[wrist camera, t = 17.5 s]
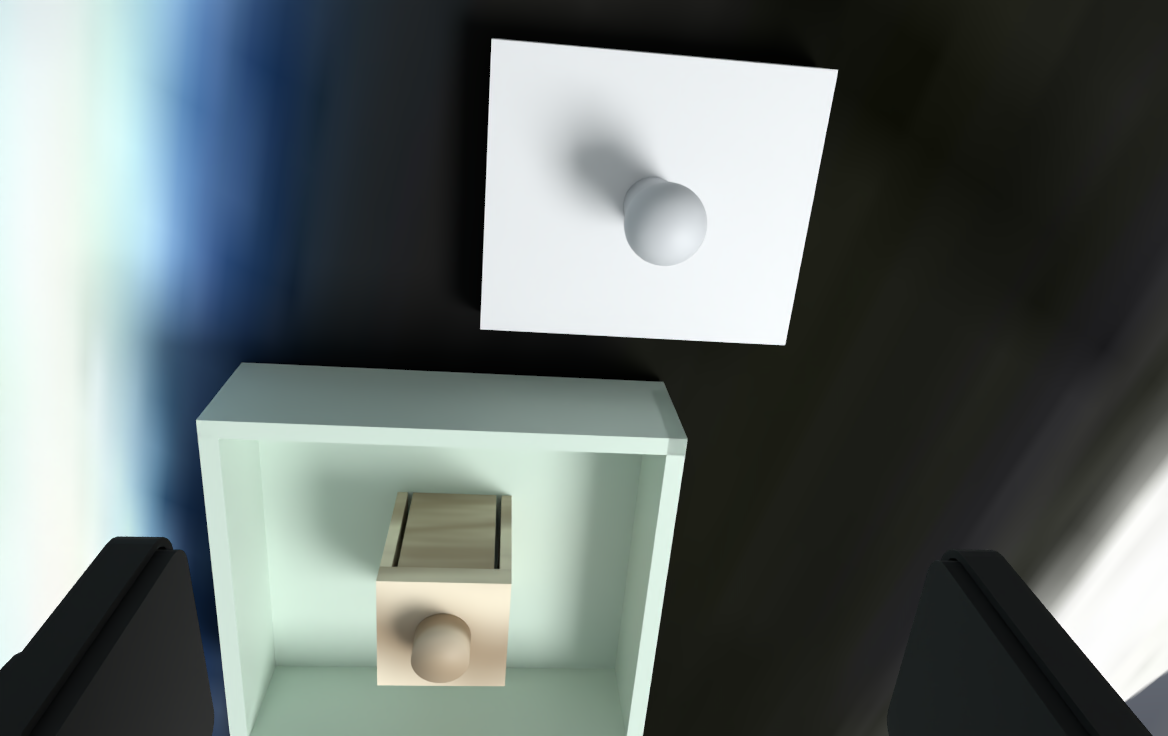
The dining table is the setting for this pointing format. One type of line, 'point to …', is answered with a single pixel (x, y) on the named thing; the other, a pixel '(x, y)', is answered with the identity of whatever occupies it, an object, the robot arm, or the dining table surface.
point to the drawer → (444, 592)
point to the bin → (365, 506)
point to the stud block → (647, 192)
